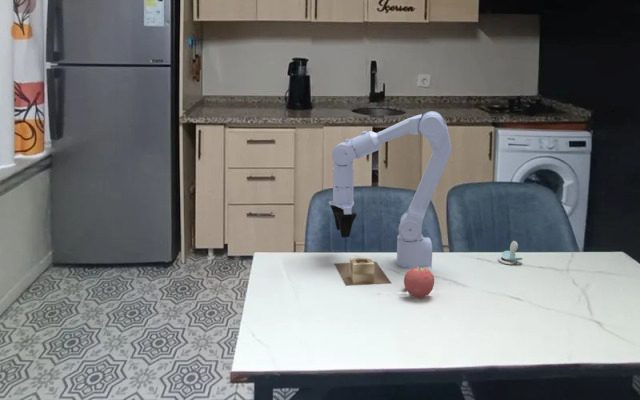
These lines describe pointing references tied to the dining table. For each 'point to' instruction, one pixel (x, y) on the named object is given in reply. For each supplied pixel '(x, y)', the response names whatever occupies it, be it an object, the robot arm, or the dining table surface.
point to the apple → (419, 282)
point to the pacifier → (510, 254)
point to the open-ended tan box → (361, 270)
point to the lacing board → (378, 279)
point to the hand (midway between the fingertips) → (342, 233)
